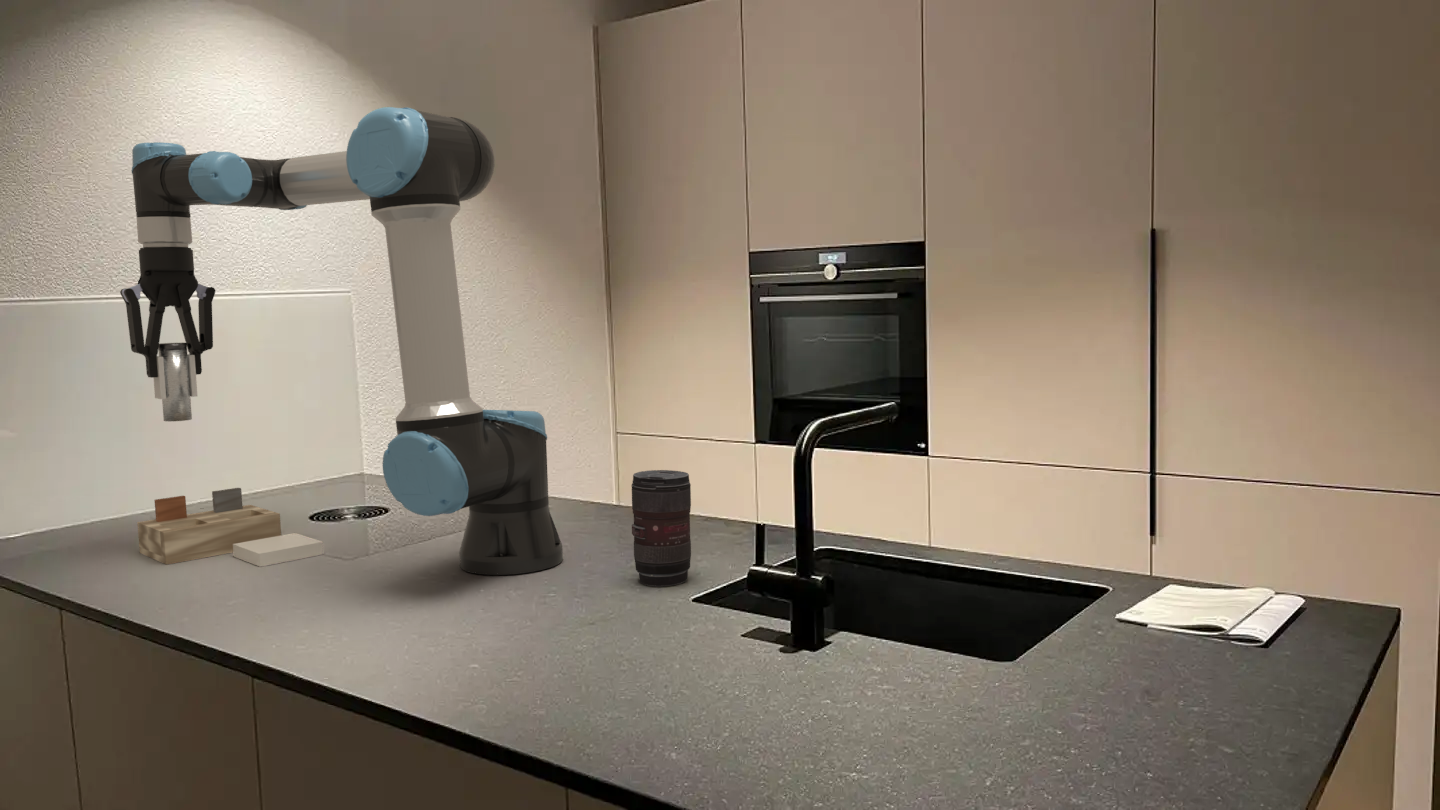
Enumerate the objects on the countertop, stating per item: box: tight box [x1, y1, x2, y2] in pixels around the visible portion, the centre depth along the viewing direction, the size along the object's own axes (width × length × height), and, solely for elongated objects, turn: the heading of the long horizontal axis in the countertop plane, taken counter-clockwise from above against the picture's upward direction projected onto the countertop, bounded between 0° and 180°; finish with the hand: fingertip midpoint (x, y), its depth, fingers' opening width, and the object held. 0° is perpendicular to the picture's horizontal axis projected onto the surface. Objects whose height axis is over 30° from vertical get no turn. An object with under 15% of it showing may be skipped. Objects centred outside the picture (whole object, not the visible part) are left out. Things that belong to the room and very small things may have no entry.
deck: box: [233, 532, 325, 568], centre depth 176 cm, size 10×10×2 cm
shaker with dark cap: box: [158, 342, 193, 422], centre depth 175 cm, size 4×4×12 cm
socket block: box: [136, 487, 282, 565], centre depth 182 cm, size 12×18×8 cm, turn 135°
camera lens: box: [631, 469, 692, 587], centre depth 154 cm, size 8×8×15 cm
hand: (176, 396), depth 175 cm, fingers closed on shaker with dark cap, 4 cm apart
